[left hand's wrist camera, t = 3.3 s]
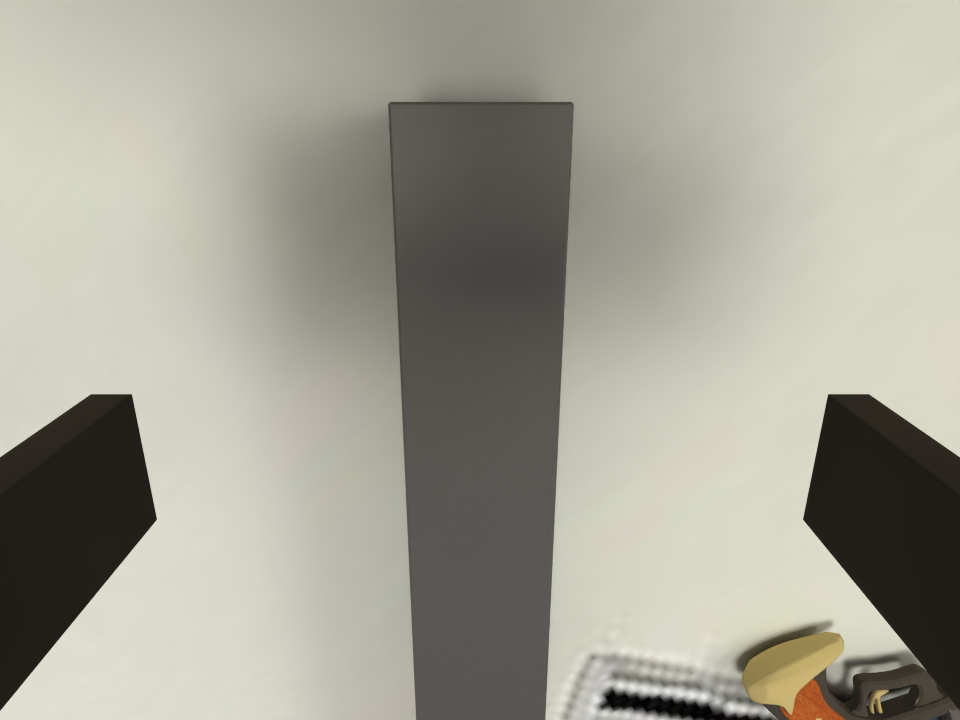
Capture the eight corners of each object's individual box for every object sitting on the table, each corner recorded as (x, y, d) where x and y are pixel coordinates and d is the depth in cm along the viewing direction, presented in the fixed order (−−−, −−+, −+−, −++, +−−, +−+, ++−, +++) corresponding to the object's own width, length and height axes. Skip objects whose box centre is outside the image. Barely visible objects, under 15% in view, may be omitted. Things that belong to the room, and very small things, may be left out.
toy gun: (749, 687, 31) (802, 843, 33) (1140, 553, 30) (1170, 723, 32) (727, 650, 34) (777, 797, 36) (1085, 526, 33) (1116, 684, 35)
